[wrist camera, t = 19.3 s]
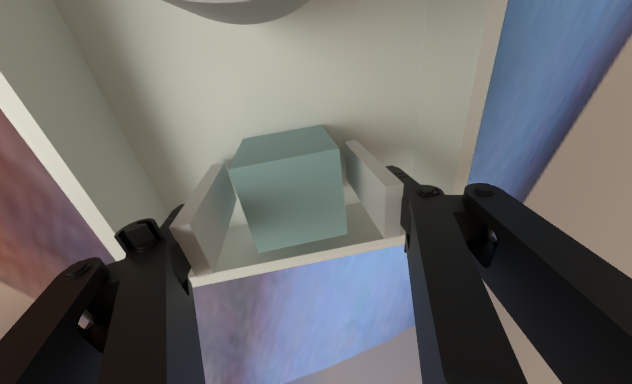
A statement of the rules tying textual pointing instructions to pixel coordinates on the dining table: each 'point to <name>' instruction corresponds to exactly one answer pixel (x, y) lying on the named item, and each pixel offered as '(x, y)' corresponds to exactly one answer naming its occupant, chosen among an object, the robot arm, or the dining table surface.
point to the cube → (290, 187)
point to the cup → (240, 9)
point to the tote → (242, 102)
